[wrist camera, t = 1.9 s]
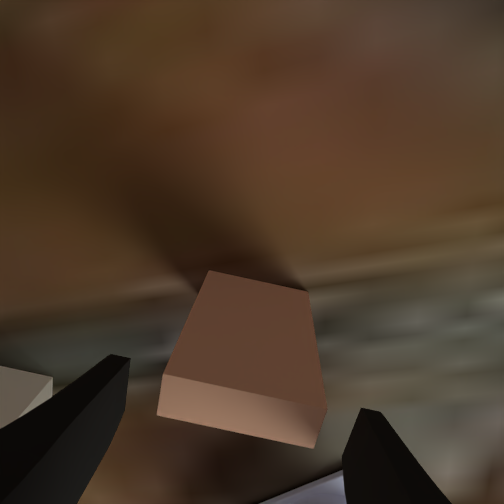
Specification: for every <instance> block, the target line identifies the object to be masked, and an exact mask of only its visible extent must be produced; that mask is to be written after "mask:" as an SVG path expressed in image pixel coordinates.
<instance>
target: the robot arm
mask: <svg viewBox="0 0 504 504" xmlns="http://www.w3.org/2000/svg"><path fill="white" fill-rule="evenodd" d="M130 359H131V358H127V357H122V356H117V355H113V354H110V355H109V356H107V357H106V358H104V359H103V360H102V361H100V362H99V363H98V364H96V365H95V366H94V367H93V368H91V369H90V370H89V371H87V372H86V373H85V374H83V375H82V376H81V377H79V378H78V379H76V380H75V381H74V382H72V383H71V384H69V385H68V386H67V387H65V388H64V389H62V390H61V391H60V392H58V393H57V394H55V395H54V396H52V397H51V398H49V399H48V400H46V401H45V402H43V403H42V404H40V405H39V406H37V407H35V408H34V409H32V410H31V411H29V412H28V413H26V414H24V415H23V416H21V417H20V418H18V419H16V420H14V421H13V422H11V423H9V424H8V425H6V426H4V427H2V428H1V429H0V504H77V503H78V501H79V499H80V497H81V495H82V494H83V492H84V490H85V488H86V487H87V485H88V483H89V481H90V479H91V478H92V476H93V474H94V472H95V471H96V469H97V467H98V465H99V463H100V462H101V460H102V458H103V456H104V454H105V453H106V451H107V449H108V447H109V445H110V443H111V441H112V439H113V437H114V434H115V432H116V430H117V428H118V425H119V423H120V420H121V418H122V415H123V413H124V411H125V403H126V394H127V385H128V376H129V368H130ZM342 467H343V470H341V471H338V472H336V473H333V474H331V475H328V476H326V477H323V478H321V479H319V480H316V481H314V482H311V483H309V484H306V485H304V486H301V487H299V488H296V489H294V490H291V491H289V492H286V493H284V494H281V495H279V496H276V497H274V498H272V499H269V500H267V501H264V502H262V503H259V504H452V503H451V502H450V501H449V500H448V499H447V498H446V496H445V495H444V494H443V493H442V492H441V490H440V489H439V488H438V487H437V486H436V484H435V483H434V482H433V481H432V479H431V478H430V477H429V476H428V474H427V473H426V472H425V470H424V469H423V468H422V467H421V465H420V464H419V463H418V461H417V460H416V459H415V457H414V456H413V455H412V453H411V452H410V451H409V449H408V448H407V447H406V445H405V444H404V443H403V441H402V440H401V439H400V437H399V436H398V434H397V433H396V432H395V430H394V429H393V428H392V426H391V425H390V424H389V422H388V421H387V420H386V418H385V417H384V416H383V414H382V413H381V412H379V411H374V410H369V409H365V408H361V409H360V412H359V414H358V417H357V419H356V422H355V424H354V427H353V430H352V432H351V435H350V437H349V440H348V442H347V445H346V447H345V450H344V452H343V455H342Z"/></svg>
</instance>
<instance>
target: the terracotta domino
mask: <svg viewBox="0 0 504 504" xmlns="http://www.w3.org/2000/svg"><path fill="white" fill-rule="evenodd" d="M326 412H327V404H326V398H325V392H324V385H323V379H322V373H321V367H320V361H319V355H318V349H317V343H316V337H315V331H314V325H313V319H312V313H311V307H310V301H309V295H308V292H307V291H303V290H298V289H293V288H289V287H284V286H280V285H275V284H270V283H266V282H261V281H257V280H252V279H248V278H243V277H238V276H234V275H229V274H225V273H220V272H216V271H211V270H209V271H208V273H207V275H206V278H205V280H204V282H203V284H202V287H201V289H200V291H199V293H198V296H197V298H196V300H195V302H194V305H193V307H192V309H191V312H190V314H189V316H188V318H187V321H186V323H185V325H184V327H183V330H182V332H181V334H180V336H179V339H178V341H177V343H176V346H175V348H174V350H173V352H172V355H171V357H170V359H169V361H168V364H167V366H166V368H165V370H164V373H163V377H162V384H161V390H160V397H159V403H158V410H157V415H158V416H162V417H167V418H172V419H176V420H181V421H186V422H190V423H195V424H200V425H204V426H209V427H214V428H218V429H223V430H228V431H232V432H237V433H242V434H246V435H251V436H256V437H260V438H265V439H270V440H274V441H279V442H284V443H288V444H293V445H298V446H302V447H307V448H312V449H314V446H315V443H316V440H317V437H318V435H319V432H320V429H321V426H322V423H323V420H324V417H325V415H326Z"/></svg>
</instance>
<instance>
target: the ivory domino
mask: <svg viewBox="0 0 504 504" xmlns="http://www.w3.org/2000/svg"><path fill="white" fill-rule="evenodd" d="M52 389H53V377H50V376H45V375H41V374H36V373H31V372H27V371H22V370H17V369H13V368H8V367H3V366H0V429H1V428H2V427H4V426H6V425H8V424H9V423H11V422H13V421H14V420H16V419H18V418H20V417H21V416H23V415H24V414H26V413H28V412H29V411H31V410H32V409H34V408H35V407H37V406H39V405H40V404H42V403H43V402H45V401H46V400H48V399H49V398H51V397H52Z"/></svg>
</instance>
